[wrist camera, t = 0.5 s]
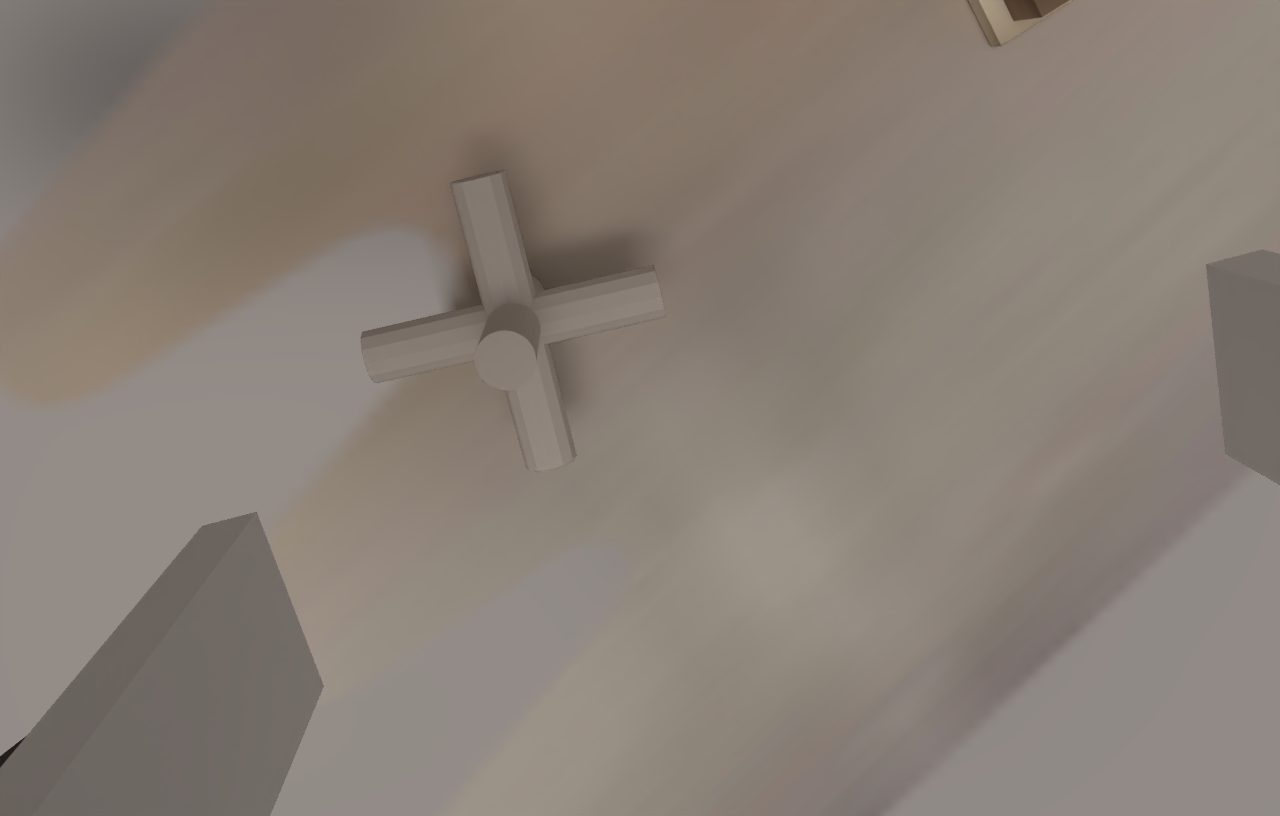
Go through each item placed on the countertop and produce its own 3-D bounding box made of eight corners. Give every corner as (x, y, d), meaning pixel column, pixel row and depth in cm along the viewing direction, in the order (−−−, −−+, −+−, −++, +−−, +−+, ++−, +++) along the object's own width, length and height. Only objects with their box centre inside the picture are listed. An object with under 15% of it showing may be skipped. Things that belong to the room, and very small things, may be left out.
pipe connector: (620, 134, 40) (634, 152, 31) (676, 390, 43) (705, 478, 34) (355, 196, 41) (287, 232, 31) (428, 446, 43) (387, 550, 34)
